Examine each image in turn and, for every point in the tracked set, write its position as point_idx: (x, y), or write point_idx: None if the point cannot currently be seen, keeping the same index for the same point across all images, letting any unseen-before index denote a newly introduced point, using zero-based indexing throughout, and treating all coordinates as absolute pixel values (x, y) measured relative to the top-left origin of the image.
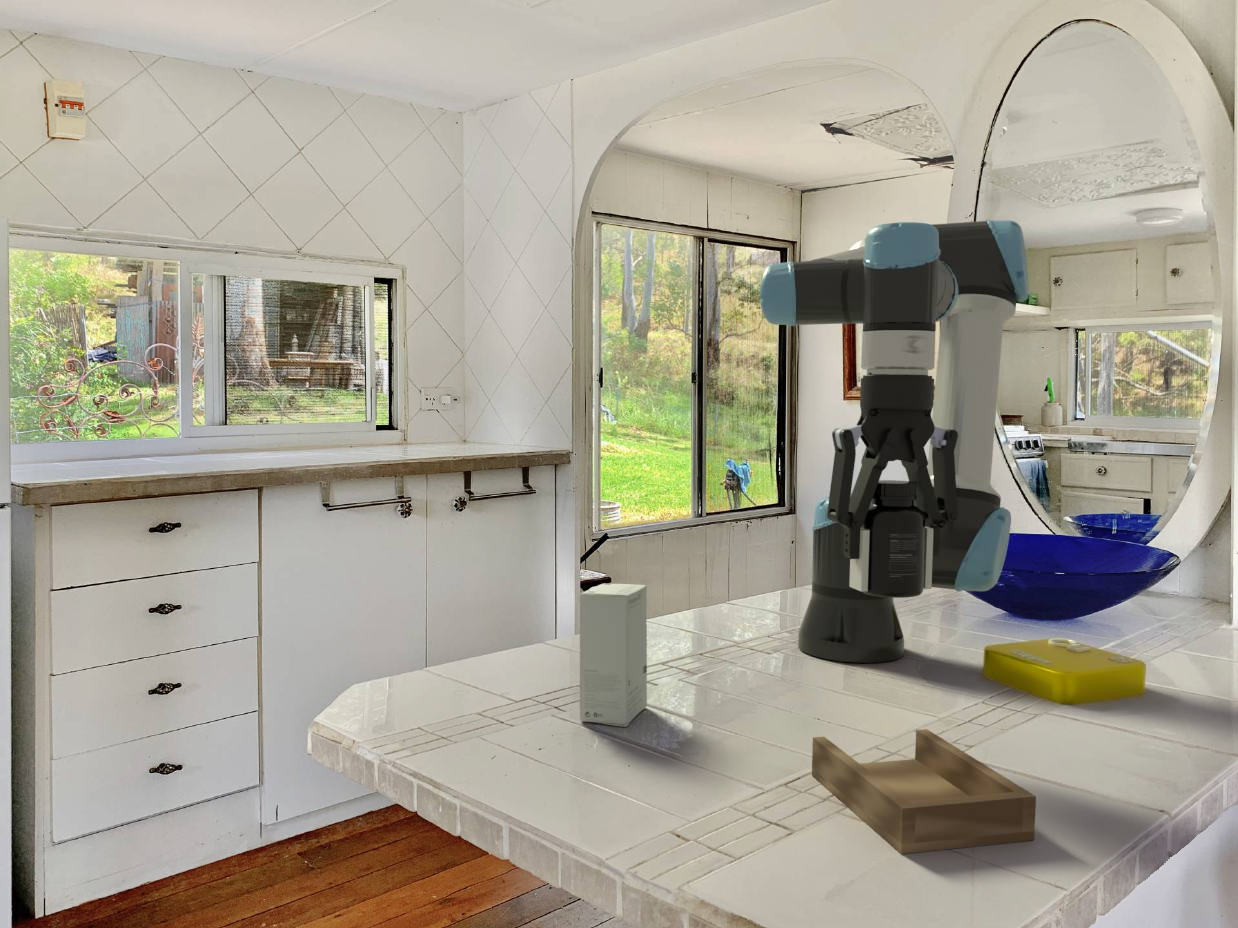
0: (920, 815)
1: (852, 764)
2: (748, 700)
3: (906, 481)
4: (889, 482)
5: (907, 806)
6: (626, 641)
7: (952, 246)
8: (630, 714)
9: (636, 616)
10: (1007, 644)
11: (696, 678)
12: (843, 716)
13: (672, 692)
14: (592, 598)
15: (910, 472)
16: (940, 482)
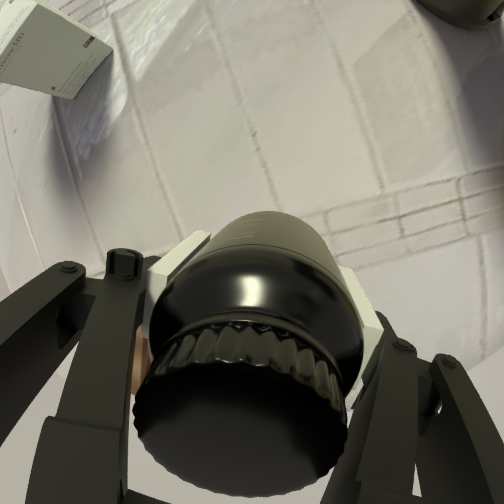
0: None
1: (137, 334)
2: (220, 53)
3: (311, 457)
4: (193, 455)
5: (135, 393)
6: (20, 86)
7: None
8: (75, 89)
9: (25, 54)
10: None
11: None
12: (286, 139)
13: (162, 10)
14: None
15: (339, 490)
16: (440, 467)
